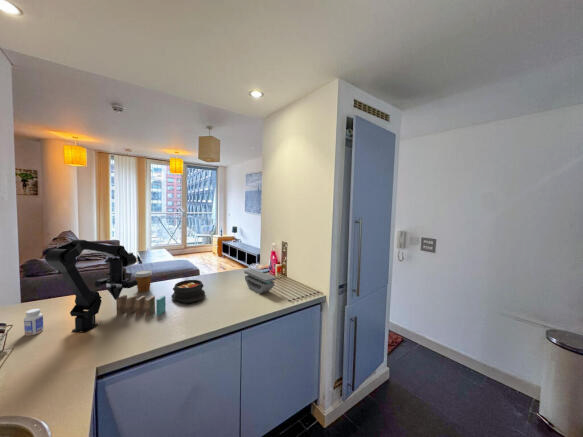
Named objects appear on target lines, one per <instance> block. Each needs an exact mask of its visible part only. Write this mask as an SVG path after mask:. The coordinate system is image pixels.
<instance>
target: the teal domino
mask: <svg viewBox="0 0 583 437" xmlns="http://www.w3.org/2000/svg"><path fill="white" fill-rule="evenodd" d="M155 301H156V302H155V310H156V316H161V315H162V314H163V313H165V312H166V295H161V296H160V297H158V298H157V299H155Z"/></svg>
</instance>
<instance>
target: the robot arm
mask: <svg viewBox="0 0 583 437" xmlns="http://www.w3.org/2000/svg"><path fill="white" fill-rule="evenodd" d="M83 251H90V252H96V253H100V254H103V255H105V256H106V257H107V259H105V261H104V263H105V264H108V272H107V273H106V276H108V277H107V278H105V277H103V278H101V279H98V280H95V281H94V283H93V286H94V288H100V287H102V285H106V287H104V289H105V290H107V291H108V293H110V294H111V296H112V297H113V299H114V300H115V301H116V299H117V298H119V297H121V296H120V295H121V293H122V290H123V289H131V288H133V287H135V286H137V284H138V281H137V280H136V278H135V279H132V275H133V274H132V272H126V270H125V269H124V268H125V267H129V266H132V265H135V264H136V263H137V261H138V259H137V257H136V256H135V255H134V252H128V251H127V250H126V248H125V246H124V245H119V244H118V245H117V244H104V243H103V244H102V243H99V242H94V241H88V240H86V239H74V240H73V239H72V241H70V242H68V243H65V244H61V245H60V246H57V247H56V248H52V249H50V250H49V251H48V252H46V253H45V256H44V260H45V262H46V263H47V264H49V266H50V267H52V268H54V269H55V270H57V271H58V272H60V274H61V275H62V277H63V279H64V280H65V282H66V283H67V284H68V286H69V288H70V289H71V291H72V292H73V294H74V295H75V298H74V303H75V305H74V306H73V308H72V309H71V311H70V312H69V314H70V316H71V317H74V329H72V330H71V332H76V333H86V332H88V331H90V330H92V329H94V328H95V327H97V326H98V325H99V323H97V322H96V315H97V314H99V311H100V308H101V305H102V296H101V295H100V292H99V291H98V290H97V291H96V290H90V288H89V286H88V285H87V283H86V281H85V280H84V278H83V277H82V275H81V274H80V271H79V270H78V268H77V266H76V265H77V257H79V256H80V255H81V254H82V252H83Z"/></svg>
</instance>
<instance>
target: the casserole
mask: <svg viewBox="0 0 583 437" xmlns="http://www.w3.org/2000/svg"><path fill="white" fill-rule="evenodd" d="M203 288H204V284H203V282H202V281H201V280H198V279H186V280H181V281H178V282H176V283H175V284H174V286H173V287H172V291H173V293H172V294H171V299H173V300H175V301H179V302H182V303H185V304H186V303H193V302H197V301H200V300H203V299H204V297H205V294H206V292H205V290H204V289H203Z"/></svg>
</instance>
